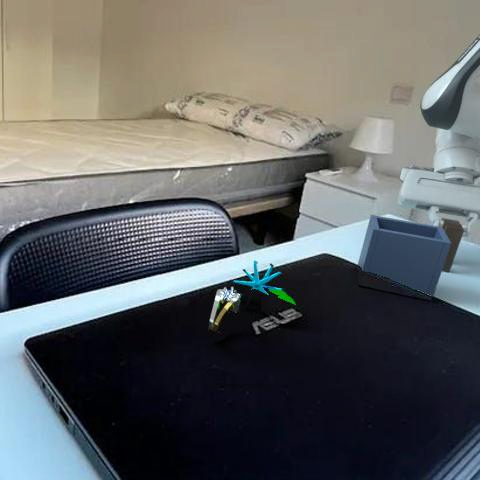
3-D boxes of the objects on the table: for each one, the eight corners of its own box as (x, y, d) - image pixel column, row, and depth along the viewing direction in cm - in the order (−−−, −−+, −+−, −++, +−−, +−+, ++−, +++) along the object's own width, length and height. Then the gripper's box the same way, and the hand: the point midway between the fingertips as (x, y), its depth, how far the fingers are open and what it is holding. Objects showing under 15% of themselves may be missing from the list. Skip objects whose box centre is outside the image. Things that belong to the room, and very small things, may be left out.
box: (424, 282, 92) (442, 227, 88) (431, 301, 85) (451, 243, 81) (356, 268, 96) (370, 214, 91) (357, 286, 89) (373, 229, 84)
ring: (217, 355, 66) (225, 303, 63) (197, 345, 68) (204, 294, 65) (243, 334, 71) (252, 285, 68) (224, 325, 73) (232, 277, 70)
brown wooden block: (444, 261, 102) (458, 220, 99) (449, 272, 97) (464, 229, 94) (428, 258, 103) (441, 217, 99) (432, 269, 98) (446, 226, 95)
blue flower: (222, 284, 80) (256, 249, 79) (239, 294, 86) (271, 261, 84) (271, 338, 73) (309, 300, 72) (286, 345, 78) (322, 310, 77)
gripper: (405, 155, 101) (397, 215, 97) (520, 171, 96) (517, 235, 91) (397, 171, 107) (389, 229, 102) (505, 188, 102) (502, 249, 97)
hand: (450, 232), depth 97 cm, fingers open, 3 cm apart
